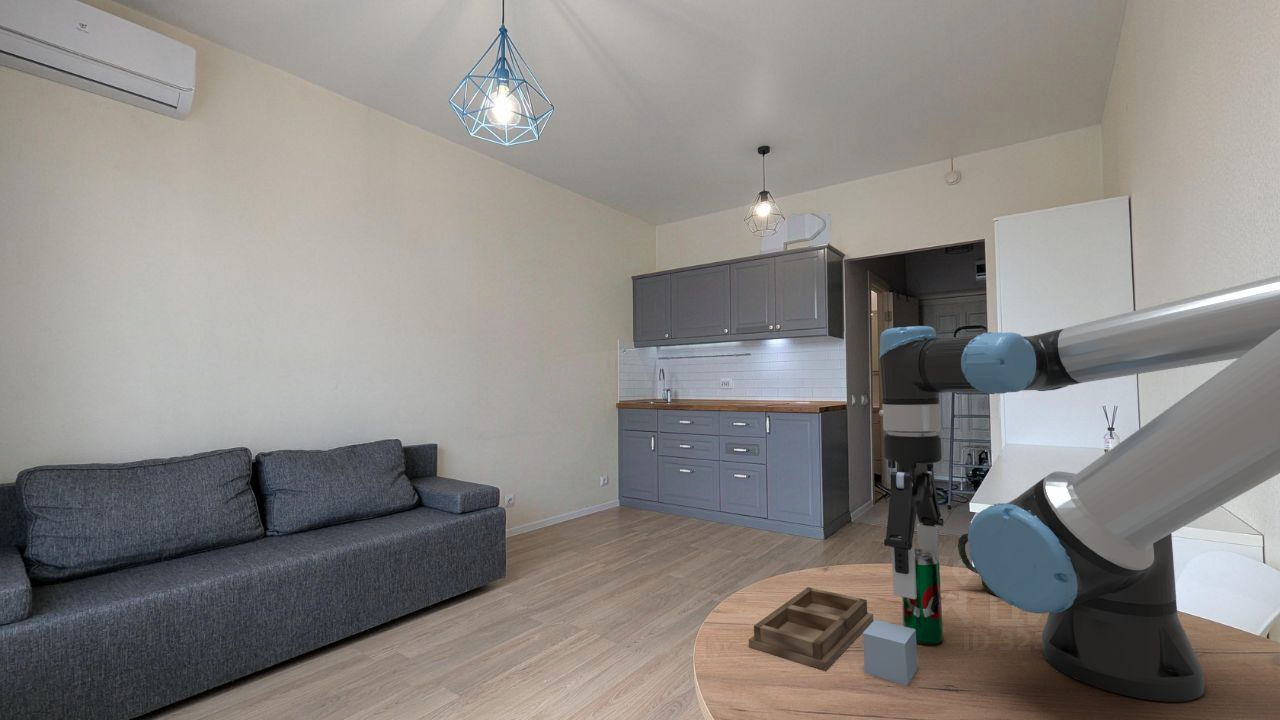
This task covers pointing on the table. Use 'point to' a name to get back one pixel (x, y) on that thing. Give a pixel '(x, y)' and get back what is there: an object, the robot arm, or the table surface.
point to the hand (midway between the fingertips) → (917, 581)
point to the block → (890, 652)
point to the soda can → (925, 600)
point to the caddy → (812, 627)
